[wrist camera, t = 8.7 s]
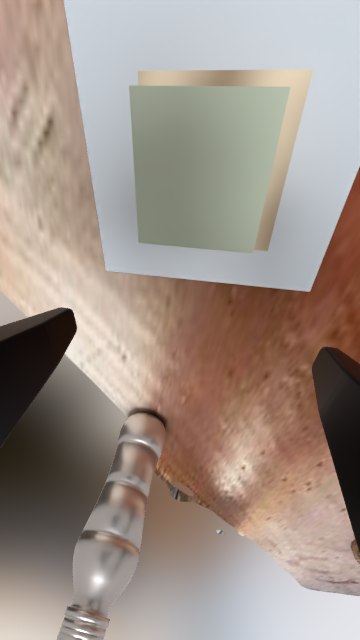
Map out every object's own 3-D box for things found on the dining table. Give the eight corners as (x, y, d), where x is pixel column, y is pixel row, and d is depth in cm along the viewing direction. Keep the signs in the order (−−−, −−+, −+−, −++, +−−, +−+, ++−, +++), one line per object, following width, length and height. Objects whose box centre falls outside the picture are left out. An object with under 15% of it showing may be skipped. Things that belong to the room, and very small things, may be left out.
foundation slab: (304, 79, 13) (313, 69, 11) (264, 244, 18) (267, 251, 16) (146, 80, 14) (137, 70, 12) (151, 235, 19) (145, 240, 17)
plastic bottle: (154, 403, 32) (78, 652, 16) (176, 430, 35) (132, 664, 18) (118, 410, 34) (20, 631, 18) (142, 435, 37) (76, 645, 21)
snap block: (257, 127, 13) (290, 86, 6) (242, 216, 15) (253, 253, 9) (177, 125, 13) (128, 85, 7) (174, 211, 16) (138, 243, 9)
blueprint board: (431, -27, 10) (438, -34, 10) (308, 289, 19) (309, 291, 19) (66, -8, 13) (61, -13, 12) (107, 269, 22) (105, 270, 21)
